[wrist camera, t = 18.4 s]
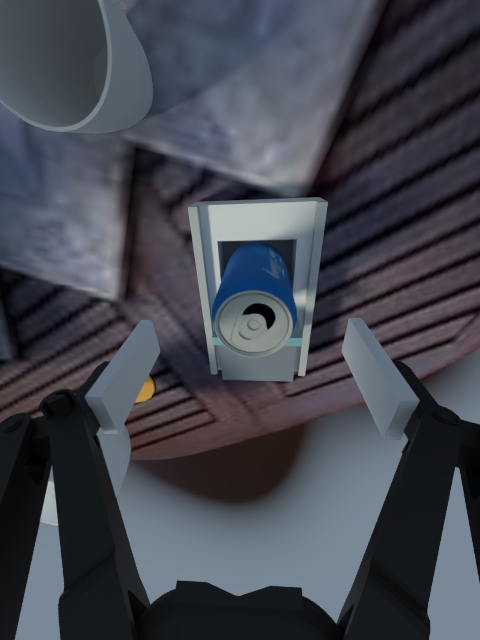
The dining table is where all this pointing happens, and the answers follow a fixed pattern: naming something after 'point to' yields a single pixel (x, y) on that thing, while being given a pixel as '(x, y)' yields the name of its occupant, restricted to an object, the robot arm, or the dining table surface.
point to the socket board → (269, 227)
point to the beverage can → (254, 302)
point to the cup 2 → (114, 454)
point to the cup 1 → (72, 66)
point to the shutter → (260, 361)
